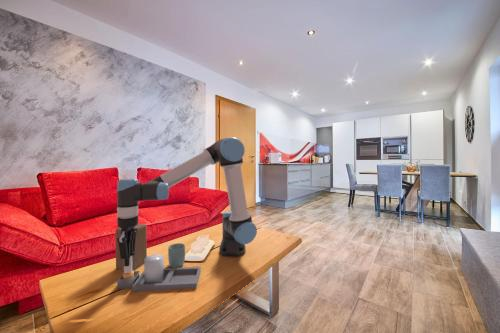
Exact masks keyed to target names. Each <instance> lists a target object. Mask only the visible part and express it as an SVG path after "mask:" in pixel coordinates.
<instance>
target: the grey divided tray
mask: <svg viewBox="0 0 500 333" xmlns="http://www.w3.org/2000/svg"><path fill="white" fill-rule="evenodd" d="M201 270H202V268H201V266H189V267H187V266H186V267H178V268H172V267H168V268H167V267H166V268H165V267H164V281H163V282H162V283H153V284H144V270H143V271H142V273H141V274H139V278H138V279H137V281H136V282H135V283H134V285H133V286H132V289H131V293H135V292H153V291H154V292H155V291H172V290H173V291H175V290H187V289H188V290H189V289H193V290H194V289H197V287H198V283H199V279H200V276H201Z"/></svg>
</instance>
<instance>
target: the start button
mask: <svg viewBox="0 0 500 333" xmlns="http://www.w3.org/2000/svg"><path fill="white" fill-rule="evenodd" d="M134 271H135V270H134ZM134 271H133V270H132V272H131V273H124V272H123V273H122V274H123V278H132V277H133V276H134Z"/></svg>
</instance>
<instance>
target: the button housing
mask: <svg viewBox="0 0 500 333" xmlns="http://www.w3.org/2000/svg"><path fill="white" fill-rule="evenodd" d="M139 277H140V271H139V270H134V276H133V277H132V278H123V273H122V274H121V275H120V276H119V277H118V278H117V279H116V282H117V283H116V284H117V290H130V289H131V290H132V286H133V285H134V283H135V282H136V281H137V279H138V278H139Z"/></svg>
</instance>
